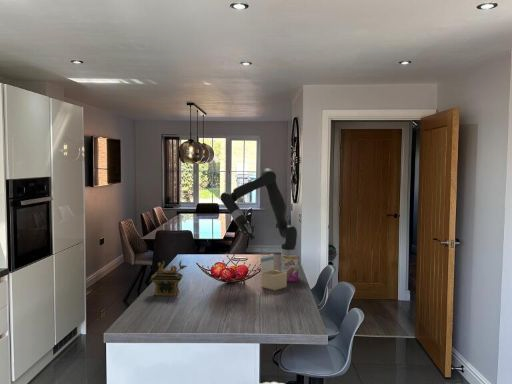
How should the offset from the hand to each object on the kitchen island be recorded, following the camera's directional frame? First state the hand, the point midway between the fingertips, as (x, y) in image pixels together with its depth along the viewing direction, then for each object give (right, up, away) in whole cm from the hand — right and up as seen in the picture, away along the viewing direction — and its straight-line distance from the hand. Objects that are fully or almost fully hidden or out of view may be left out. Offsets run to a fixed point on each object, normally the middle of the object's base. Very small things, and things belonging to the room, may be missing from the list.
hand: (253, 238), depth 297 cm
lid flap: (+9, -14, -7) cm, 18 cm away
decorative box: (-47, -29, -29) cm, 63 cm away
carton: (+13, -28, -10) cm, 33 cm away
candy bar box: (+23, -28, +7) cm, 37 cm away
